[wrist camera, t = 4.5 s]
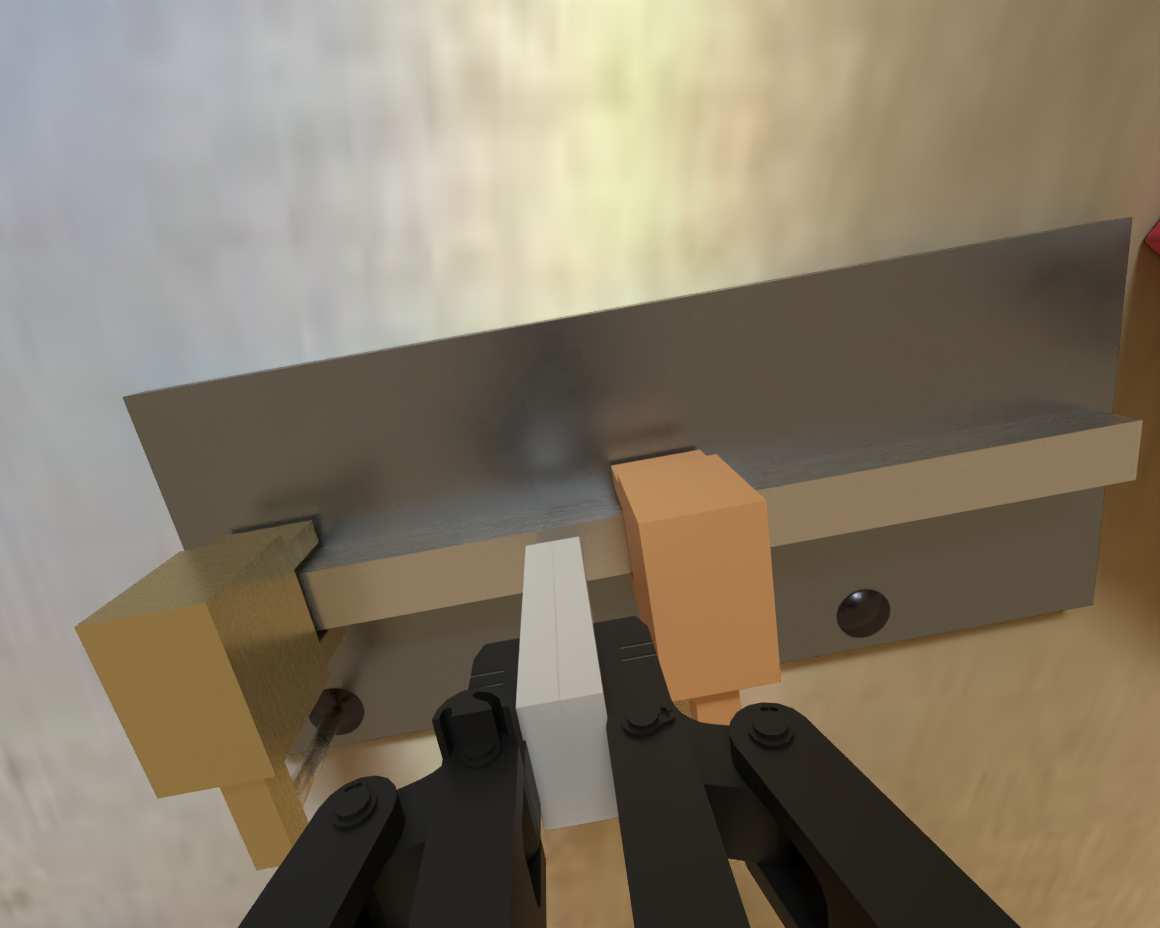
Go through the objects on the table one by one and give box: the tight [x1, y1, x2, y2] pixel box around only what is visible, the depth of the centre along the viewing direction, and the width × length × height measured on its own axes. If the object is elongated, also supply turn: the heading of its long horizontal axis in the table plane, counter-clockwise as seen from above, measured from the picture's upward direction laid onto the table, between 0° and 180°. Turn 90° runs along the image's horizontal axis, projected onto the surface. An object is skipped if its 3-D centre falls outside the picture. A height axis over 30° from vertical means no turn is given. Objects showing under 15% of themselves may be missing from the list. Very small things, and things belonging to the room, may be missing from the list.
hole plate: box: [123, 217, 1132, 756], centre depth 20 cm, size 14×32×1 cm, turn 100°
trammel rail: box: [74, 408, 1143, 870], centre depth 18 cm, size 9×30×6 cm, turn 100°
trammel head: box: [611, 450, 781, 725], centre depth 17 cm, size 9×3×6 cm, turn 10°
